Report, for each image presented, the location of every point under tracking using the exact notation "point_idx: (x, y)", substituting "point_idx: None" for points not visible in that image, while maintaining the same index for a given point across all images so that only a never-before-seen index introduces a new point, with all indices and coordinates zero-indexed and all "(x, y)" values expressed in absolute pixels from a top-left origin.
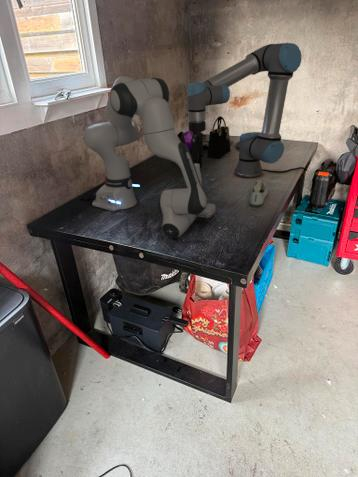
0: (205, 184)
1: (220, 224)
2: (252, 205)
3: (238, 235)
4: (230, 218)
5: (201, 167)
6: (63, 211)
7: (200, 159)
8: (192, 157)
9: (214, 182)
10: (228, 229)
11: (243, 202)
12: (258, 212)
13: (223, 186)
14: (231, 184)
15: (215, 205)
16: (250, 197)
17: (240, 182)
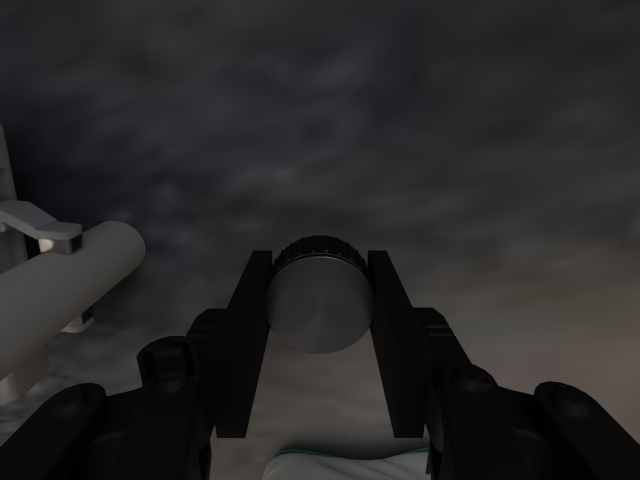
0: (574, 192)
1: (57, 363)
2: (275, 456)
3: (4, 431)
4: (130, 390)
5: (340, 347)
6: None
7: (391, 403)
8: (3, 461)
9: (607, 244)
10: (31, 396)
11: (312, 418)
12: (224, 472)
13: (528, 307)
14: (559, 342)
15: (8, 403)
16: (303, 471)
17: (587, 381)
